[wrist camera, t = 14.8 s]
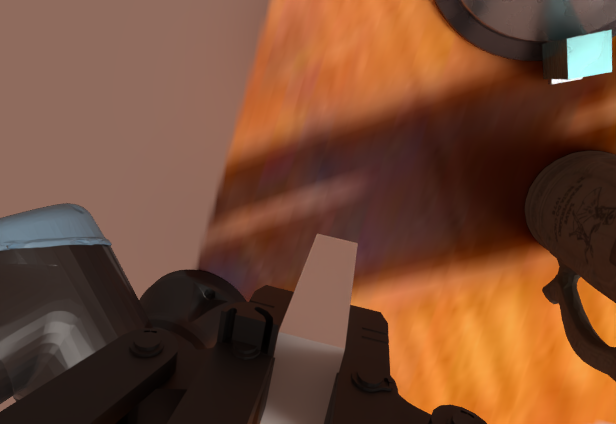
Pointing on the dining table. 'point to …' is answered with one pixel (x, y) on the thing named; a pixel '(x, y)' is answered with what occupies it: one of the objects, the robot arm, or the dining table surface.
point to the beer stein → (578, 241)
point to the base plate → (492, 41)
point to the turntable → (554, 32)
